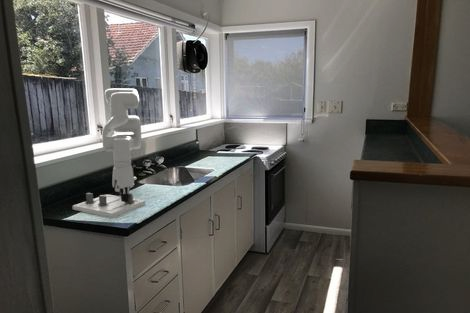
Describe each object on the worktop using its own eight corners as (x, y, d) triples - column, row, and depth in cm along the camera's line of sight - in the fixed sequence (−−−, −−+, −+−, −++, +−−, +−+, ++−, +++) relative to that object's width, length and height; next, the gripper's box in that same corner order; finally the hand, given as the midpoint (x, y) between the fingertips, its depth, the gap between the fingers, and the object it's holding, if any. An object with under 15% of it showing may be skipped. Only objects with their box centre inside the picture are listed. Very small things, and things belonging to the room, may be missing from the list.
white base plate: (107, 197, 197) (107, 194, 196) (145, 204, 185) (145, 200, 185) (72, 209, 178) (72, 205, 177) (112, 217, 166) (112, 213, 165)
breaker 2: (102, 203, 180) (101, 194, 179) (108, 204, 178) (107, 195, 177) (97, 204, 177) (97, 195, 176) (103, 206, 175) (103, 196, 174)
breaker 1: (89, 200, 184) (88, 192, 183) (95, 201, 182) (94, 193, 181) (84, 202, 181) (83, 193, 180) (90, 203, 179) (89, 194, 178)
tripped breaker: (128, 201, 183) (128, 192, 182) (134, 202, 181) (134, 193, 180) (124, 202, 180) (123, 193, 179) (130, 203, 178) (130, 194, 178)
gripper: (128, 160, 183) (130, 196, 186) (104, 166, 170) (107, 204, 173) (139, 162, 179) (141, 198, 182) (116, 167, 166) (119, 206, 169)
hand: (125, 201), depth 178 cm, fingers closed
